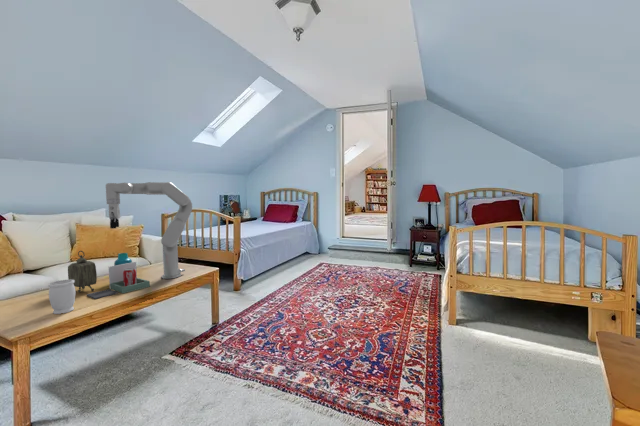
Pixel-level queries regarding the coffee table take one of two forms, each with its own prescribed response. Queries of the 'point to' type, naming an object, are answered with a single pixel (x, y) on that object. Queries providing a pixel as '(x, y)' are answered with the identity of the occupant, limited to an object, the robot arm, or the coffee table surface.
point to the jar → (62, 296)
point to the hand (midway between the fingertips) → (114, 227)
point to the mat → (102, 294)
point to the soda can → (129, 277)
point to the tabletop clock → (82, 273)
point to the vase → (122, 259)
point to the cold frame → (117, 279)
